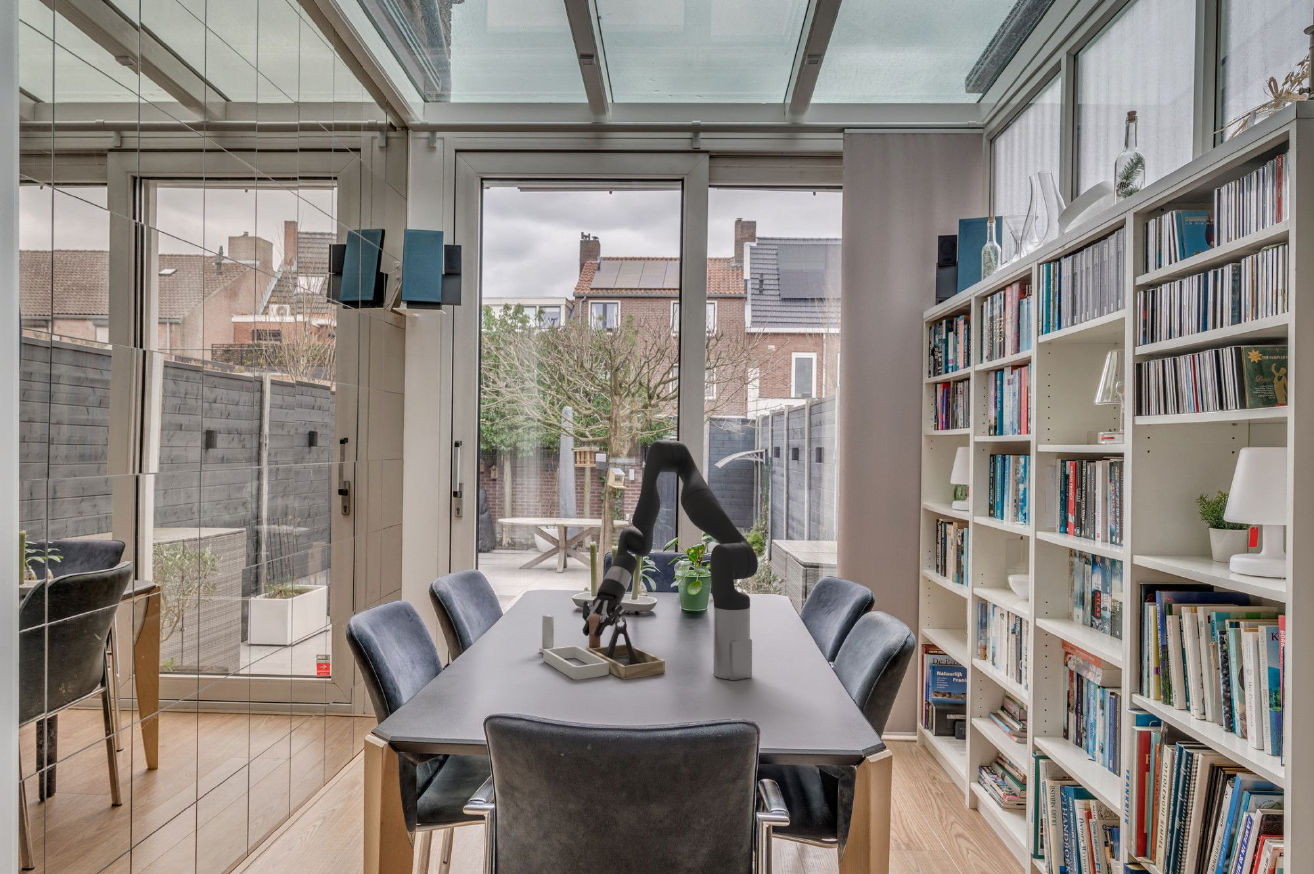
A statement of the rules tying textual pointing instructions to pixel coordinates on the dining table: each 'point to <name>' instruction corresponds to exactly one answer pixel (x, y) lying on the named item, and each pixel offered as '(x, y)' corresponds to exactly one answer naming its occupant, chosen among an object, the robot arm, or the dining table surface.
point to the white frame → (569, 655)
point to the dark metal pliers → (630, 649)
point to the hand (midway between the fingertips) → (590, 634)
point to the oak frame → (648, 661)
